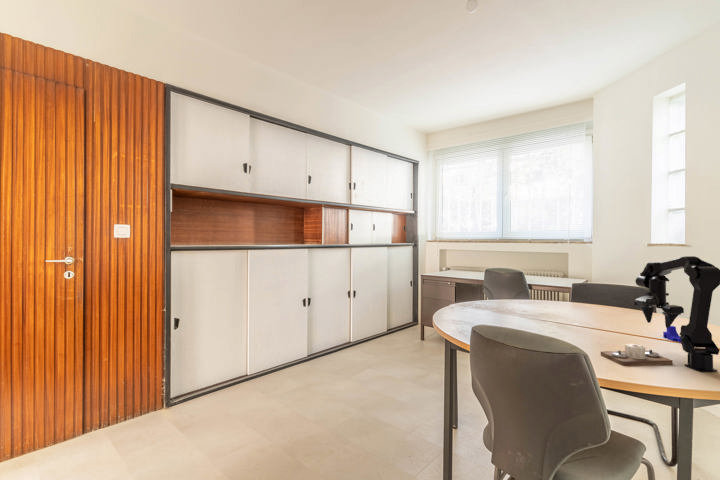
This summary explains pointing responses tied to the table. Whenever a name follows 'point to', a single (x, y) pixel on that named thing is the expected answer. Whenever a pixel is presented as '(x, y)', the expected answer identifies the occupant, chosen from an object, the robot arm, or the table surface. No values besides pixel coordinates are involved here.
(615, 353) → the gear peg base
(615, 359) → the gear board
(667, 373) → the table surface
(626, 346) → the loose gear
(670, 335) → the blue bracket
